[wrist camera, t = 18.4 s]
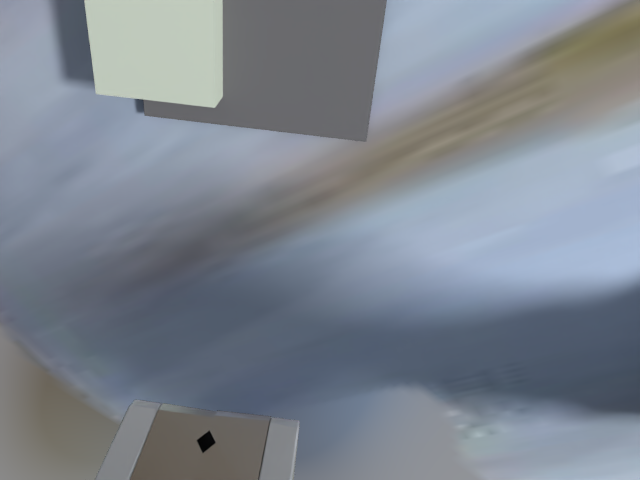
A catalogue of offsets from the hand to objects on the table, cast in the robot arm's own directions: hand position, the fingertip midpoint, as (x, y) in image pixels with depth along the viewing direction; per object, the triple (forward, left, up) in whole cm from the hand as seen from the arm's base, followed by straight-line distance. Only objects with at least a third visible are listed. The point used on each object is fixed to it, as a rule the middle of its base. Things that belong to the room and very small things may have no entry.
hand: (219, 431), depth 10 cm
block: (+6, 0, -26) cm, 26 cm away
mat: (+4, 0, -27) cm, 27 cm away
